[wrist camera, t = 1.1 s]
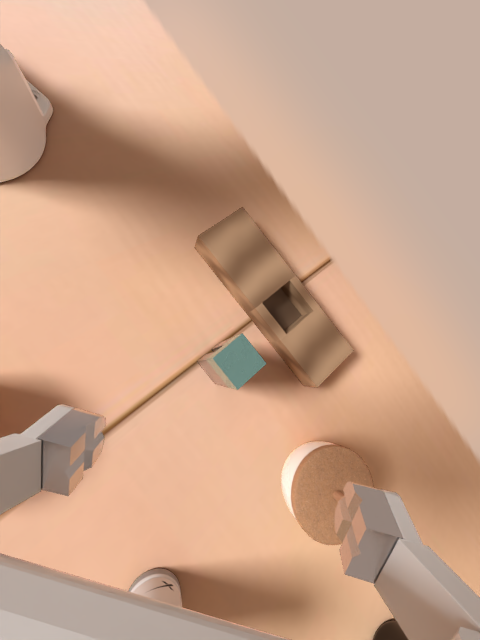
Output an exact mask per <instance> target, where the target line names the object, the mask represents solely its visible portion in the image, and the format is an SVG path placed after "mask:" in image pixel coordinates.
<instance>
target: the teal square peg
mask: <svg viewBox="0 0 480 640" xmlns="http://www.w3.org/2000/svg"><path fill="white" fill-rule="evenodd" d="M211 350H212V351H213V353H209V354H206V355H204V356H203V357H202V358H200V359H199V360H198V361H197V362H198V364H199V365H200V366H201V367H202V368H203V370H204V371H205V372H206V373H207V375H208V376H209V377H210V378H211V380H212V381H213V382H214V383H215V384H217V385H221V386H225V387H228V388H232V389H236V390H238V389H239V388H240V387H241V386H243V385H244V384H245V383H246V382H247V381H248V380H249V379H250V378H251V377H252V376H254V375H255V374H256V373H257V372H258V371H259V370H260V369H261V368H262V367H263V366H265V365H266V362H265V361H264V360H263V359H262V357H261V356H260V355H259V353H258V352H257V351H256V350H255V348H254V347H253V346H252V345H251V343H250V342H249V341H248V340H247V338H246V337H245V336H244V335H243V333H242V334H239V335H237V336H235V337H232V338H230V339H228V340H225V341H223V342H221V343H219V344H217V345H216V346H215V347H214V348H213V349H211Z"/></svg>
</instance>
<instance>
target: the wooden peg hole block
mask: <svg viewBox="0 0 480 640" xmlns="http://www.w3.org/2000/svg"><path fill="white" fill-rule="evenodd" d="M195 249H196V250H197V251H198V253H199V254H200V255H201V256H202V258H203V259H204V260H205V262H206V263H207V264H208V265H209V267H210V268H211V269H212V270H213V272H214V273H215V274H216V275H217V277H218V278H219V279H220V281H221V282H222V283H223V284H224V286H225V287H226V288H227V289H228V291H229V292H230V293H231V294H232V296H233V297H234V298H235V299H236V301H237V302H238V303H239V305H240V306H241V307H242V308H243V310H244V311H245V312H246V313H247V315H248V316H249V317H250V318H251V320H252V321H253V322H254V324H255V325H256V326H257V327H258V329H259V330H260V331H261V332H262V334H263V335H264V336H265V337H266V339H267V340H268V341H269V343H270V344H271V345H272V346H273V348H274V349H275V350H276V351H277V353H278V354H279V355H280V356H281V358H282V359H283V360H284V362H285V363H286V364H287V365H288V367H289V368H290V369H291V370H292V372H293V373H294V374H295V375H296V377H297V378H298V379H299V380H300V382H301V383H302V384H303V386H309V387H319V386H320V385H321V384H322V383H323V382H324V380H325V379H326V378H327V377H328V376H329V375H330V374H331V373H332V372H333V371H334V370H335V369H336V368H337V367H338V366H339V365H340V364H341V363H342V362H343V361H344V360H345V359H346V358H347V357H348V356H349V355H350V354H351V353H352V352H353V351H354V350H353V349H352V347H351V346H350V345H349V343H348V342H347V341H346V340H345V338H344V337H343V336H342V334H341V333H340V332H339V331H338V329H337V328H336V327H335V325H334V324H333V323H332V321H331V320H330V319H329V318H328V316H327V315H326V314H325V312H324V311H323V310H322V309H321V307H320V306H319V305H318V303H317V302H316V301H315V300H314V298H313V297H312V296H311V294H310V293H309V292H308V291H307V289H306V288H305V287H304V285H303V284H302V283H301V282H300V280H299V279H298V278H297V276H296V275H295V274H294V272H293V271H292V270H291V269H290V267H289V266H288V265H287V263H286V262H285V261H284V260H283V258H282V257H281V256H280V254H279V253H278V252H277V251H276V249H275V248H274V247H273V245H272V244H271V243H270V242H269V240H268V239H267V238H266V236H265V235H264V234H263V233H262V231H261V230H260V229H259V227H258V226H257V225H256V223H255V222H254V221H253V220H252V218H251V217H250V216H249V214H248V213H247V212H246V211H245V209H244V208H243V207H241V208H240V209H238V210H237V211H235V212H234V213H232V214H231V215H229V216H228V217H226V218H225V219H223V220H222V221H220V222H219V223H217V224H216V225H214V226H212V227H211V228H209V229H208V230H206V231H205V232H203V233H202V234H200V235H199V236H198V238H197V242H196V245H195Z"/></svg>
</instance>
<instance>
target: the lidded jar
mask: <svg viewBox="0 0 480 640" xmlns="http://www.w3.org/2000/svg"><path fill="white" fill-rule="evenodd" d="M348 481H350V482H354V483H358V484H362V485H366V486H370V487H373V481H372V477H371V474H370V471H369V469H368V467H367V465H366V464H365V462H364V461H363V460H362V458H361V457H360V456H359V455H358V454H356V453H355V452H354V451H352V450H350V449H348V448H346V447H343V446H340V445H336V444H333V443H329V442H323V441H312V442H307V443H305V444H302V445H300V446H299V447H297V448H296V449H294V450H293V451H292V452H291V454H290V455H289V456H288V458H287V459H286V461H285V464H284V466H283V470H282V475H281V486H282V493H283V497H284V499H285V502H286V504H287V506H288V508H289V510H290V512H291V513H292V515H293V516H294V518H295V519H296V520H297V522H298V523H299V524H300V526H301V527H302V529H303V530H304V531H305V532H306V533H307V534H308V535H309V536H310V537H311V538H313V539H314V540H315V541H317V542H319V543H322V544H326V545H338V544H342V541H341V540H340V539H339V537H338V536H337V535H336V530H335V520H334V518H335V510H336V506H337V504H338V501H339V500H341V499H342V498H344V497H345V496H344V492H343V489H344V487H345V485H346V483H347V482H348Z"/></svg>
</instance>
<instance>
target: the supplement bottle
mask: <svg viewBox="0 0 480 640" xmlns="http://www.w3.org/2000/svg"><path fill="white" fill-rule="evenodd" d="M373 640H408V638H407V637H406V635H405V633H404V632H403V630H402V629H401V627H400V626H399V624H398V622H397V621H388V622H385V623H384V624H382V625H381V626H380V627H379V628H378V630H377V631H376V633H375V635H374V638H373Z"/></svg>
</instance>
